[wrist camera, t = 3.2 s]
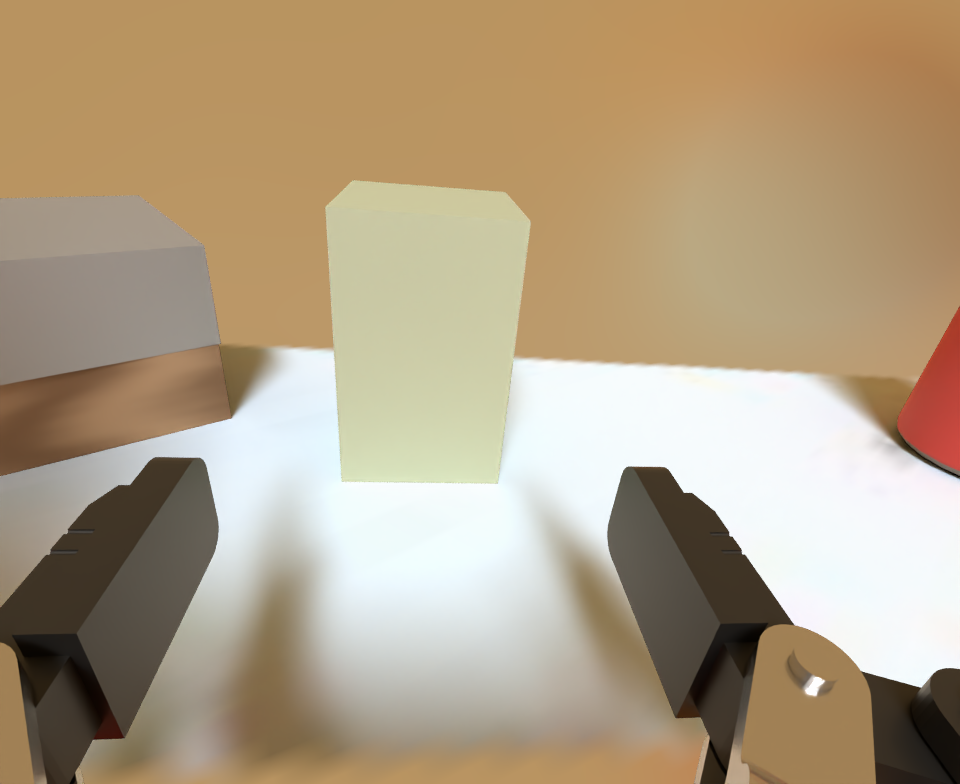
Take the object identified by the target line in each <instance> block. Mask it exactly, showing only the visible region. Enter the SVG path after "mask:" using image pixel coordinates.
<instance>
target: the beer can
mask: <svg viewBox="0 0 960 784" xmlns="http://www.w3.org/2000/svg"><path fill="white" fill-rule="evenodd" d="M897 427H898V431H899V433H900V434H901V436H902V437H903V439H904V440H905V441H906V443H907V444H908V445H909V446H910V447H911V448H912V449H914V450H915V451H916V452H917V453H919V454H920V455H921V456H922V457H924V458H926V459H928V460H929V461H931V462H933V463H934V464H936V465H938V466H939V467H941V468H943V469H945V470H948V471H950V472H952V473H954V474H957V475H959V476H960V307H959V308H958V310H957V312H956V314H955V316H954V317H953V319H952V321H951V323H950V324H949V326H948V328H947V330H946V332H945V333H944V335H943V337H942V339H941V341H940V343H939V344H938V346H937V348H936V349H935V352H934V353H933V355H932V357H931V359H930V360H929V362H928V364H927V366H926V368H925V369H924V371H923V373H922V375H921V376H920V378H919V380H918V382H917V383H916V385H915V387H914V389H913V391H912V392H911V394H910V396H909V398H908V400H907V401H906V403H905V405H904V407H903V409H902V410H901V412H900V414H899V416H898V422H897Z"/></svg>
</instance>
